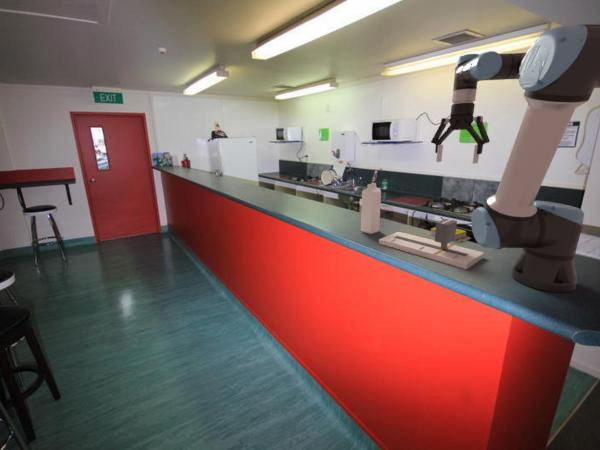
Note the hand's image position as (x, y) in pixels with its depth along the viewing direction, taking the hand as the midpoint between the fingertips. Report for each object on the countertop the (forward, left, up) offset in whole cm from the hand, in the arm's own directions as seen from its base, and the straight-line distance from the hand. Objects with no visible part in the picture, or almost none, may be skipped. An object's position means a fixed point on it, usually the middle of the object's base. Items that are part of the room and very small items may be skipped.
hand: (456, 162), depth 116 cm
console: (0, +16, -32) cm, 36 cm away
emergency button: (+2, -6, -32) cm, 33 cm away
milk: (+30, +12, -32) cm, 45 cm away
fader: (-6, +16, -29) cm, 34 cm away
